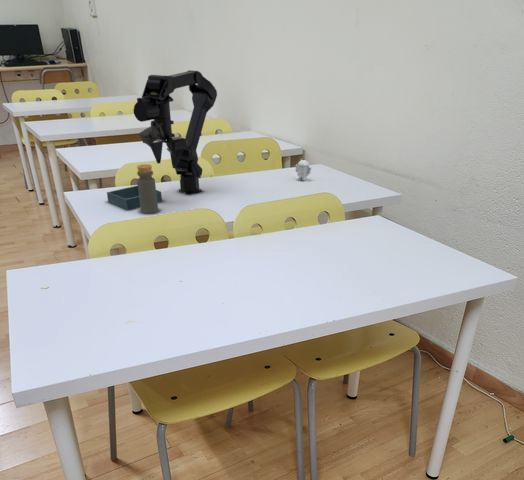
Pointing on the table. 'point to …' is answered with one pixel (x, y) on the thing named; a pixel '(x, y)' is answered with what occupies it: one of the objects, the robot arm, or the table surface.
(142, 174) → the bottle
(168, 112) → the robot arm
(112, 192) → the basin
